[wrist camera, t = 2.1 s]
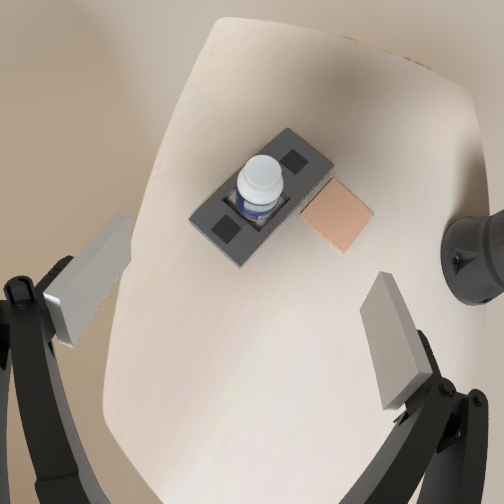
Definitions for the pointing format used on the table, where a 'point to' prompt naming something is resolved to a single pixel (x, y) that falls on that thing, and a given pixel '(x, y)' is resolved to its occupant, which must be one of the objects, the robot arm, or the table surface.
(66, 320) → the robot arm
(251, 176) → the pill bottle
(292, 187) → the holder
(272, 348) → the table surface
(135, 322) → the table surface
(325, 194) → the coaster
